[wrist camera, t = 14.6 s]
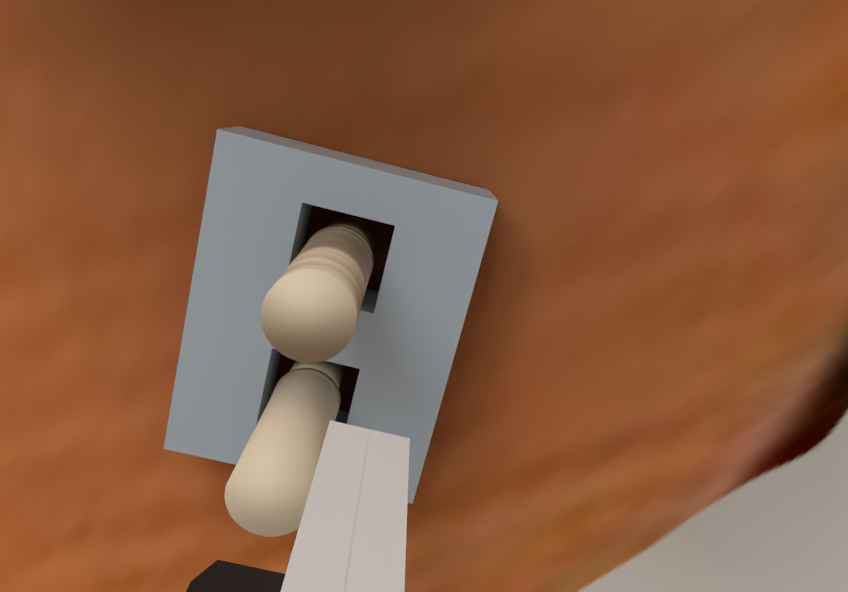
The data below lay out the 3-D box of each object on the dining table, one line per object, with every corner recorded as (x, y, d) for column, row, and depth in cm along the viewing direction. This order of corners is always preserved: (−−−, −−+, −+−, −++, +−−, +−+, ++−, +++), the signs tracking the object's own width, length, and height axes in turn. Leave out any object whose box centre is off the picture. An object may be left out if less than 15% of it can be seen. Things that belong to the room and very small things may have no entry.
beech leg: (322, 204, 44) (269, 261, 28) (385, 220, 44) (366, 284, 29) (309, 265, 45) (251, 351, 29) (370, 280, 45) (344, 373, 30)
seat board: (240, 126, 42) (136, 139, 27) (489, 190, 44) (527, 237, 28) (189, 413, 48) (78, 562, 32) (413, 464, 49) (409, 631, 33)
